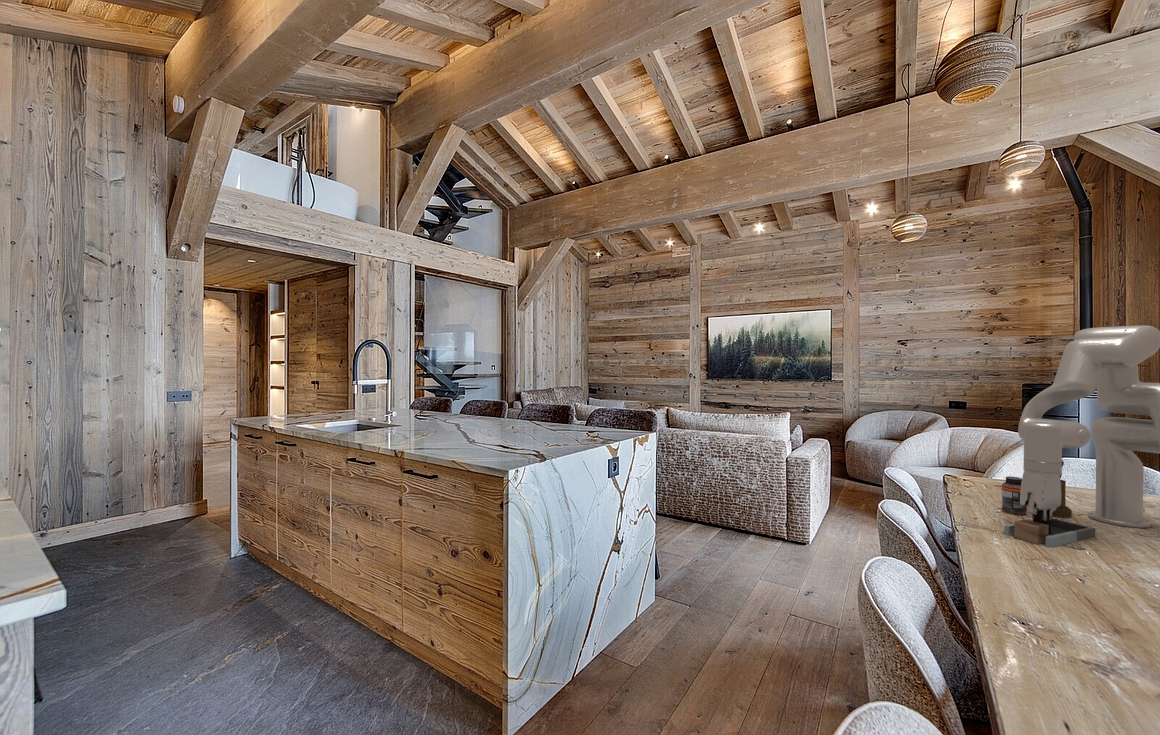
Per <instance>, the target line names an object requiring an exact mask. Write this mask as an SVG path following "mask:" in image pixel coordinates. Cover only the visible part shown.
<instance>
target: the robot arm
mask: <svg viewBox="0 0 1160 735" xmlns="http://www.w3.org/2000/svg"><path fill="white" fill-rule="evenodd" d="M1159 349H1160V330H1159V329H1158V328H1157V327H1155V326H1153V325H1123V326H1121V325H1120V326H1104V327H1103V326H1099V327H1090V328H1083V329H1081V330H1079V331H1076V333H1074V335H1073V340H1072V341H1070V342H1068V343H1067V344H1066V346H1065V347H1064V350H1063V353H1062V356H1061V359H1060V362H1059V364H1058V368H1057V371H1056V374H1055V377H1054V380H1053V383H1052V384H1051V385H1050V386H1049V387H1047V388H1045V389H1043V390H1042V391H1040V392H1039V393H1037V394H1036V395H1035V396H1034V397H1032V398H1031V399H1030V400H1029V401H1028V402H1027V403H1026V405H1025V406H1024V408H1023V410H1022V413H1021V416H1020V418H1019V422H1018V427H1017V432H1018V436H1019V438H1020V439H1021V440H1022V441H1023V464H1022V465H1023V470H1022V471H1023V472H1022V476H1021V478H1022V482H1021V492H1020V504H1021V505H1022V506H1027V513H1028V514H1031V518H1032V520H1033V521H1034V522H1038V523H1042V524H1046V525H1049V532H1048V536H1051V535H1050V534H1051V519H1052V518H1053V516H1052V512H1053V511H1055V510H1056V508H1057V507H1059V506H1060V505H1061V480H1062V479H1060V475H1062V476H1063V470H1062V469H1063V466H1062V460H1063V449H1072V450H1073V449H1074V450H1076V449H1081V448H1083V447H1085V446H1086V445H1088V444H1089V442H1090V441H1091V436H1092V440H1093V443H1094V449H1095V510H1090V511H1088V513H1087V515H1088V517H1089V518H1090V519H1093V520H1096V521H1098V522H1102V523H1107V524H1110V525H1116V526H1123V527H1128V528H1141V529H1142V528H1143V529H1145V528H1150V527H1152V522H1151V521H1150V520H1148V519H1145V518H1144V513H1145V512H1146V509H1145V508H1144V470H1145V469H1144V464H1143V462H1142V461H1141V459H1140V458H1139V457H1138V456H1137V454H1135V451H1136V452H1144V453H1151V454H1152V453H1153V454H1160V382H1142V381H1141V380H1140V378H1139V377H1140V376H1139V366H1138V365H1139V364H1141V363H1142V362H1144V361H1145V360H1147V359H1148V358H1150V357H1152V356H1154V354H1156V353H1157V352H1158V351H1159ZM1095 392H1096V399H1097V404H1098V407H1099V408H1100V409H1101V410H1102V411H1104V412H1108V413H1114V414H1124V415H1126V414H1128V415H1138V416H1140V415H1141V416H1148V417H1150V418H1151V419H1145V418H1138V417H1137V418H1136V417H1124V416H1123V417H1122V416H1121V417H1120V416H1106V417H1105V416H1104V417H1101V418H1098V419H1096V420H1095V421H1094V422H1093V423H1092V425H1091V432H1090V430H1089V428H1088V427H1087V426H1085V424H1083V423H1080V422H1076V421H1073V420H1060V419H1050V418H1043V415H1044V414H1045V413H1047V412H1048V411H1049V410H1051V409H1052V408H1054V407H1057V406H1060V405H1062V404H1066V403H1070V402H1073V401H1078V400H1081V399H1085V398H1087V397H1091V396H1092V395H1094V394H1095Z"/></svg>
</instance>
